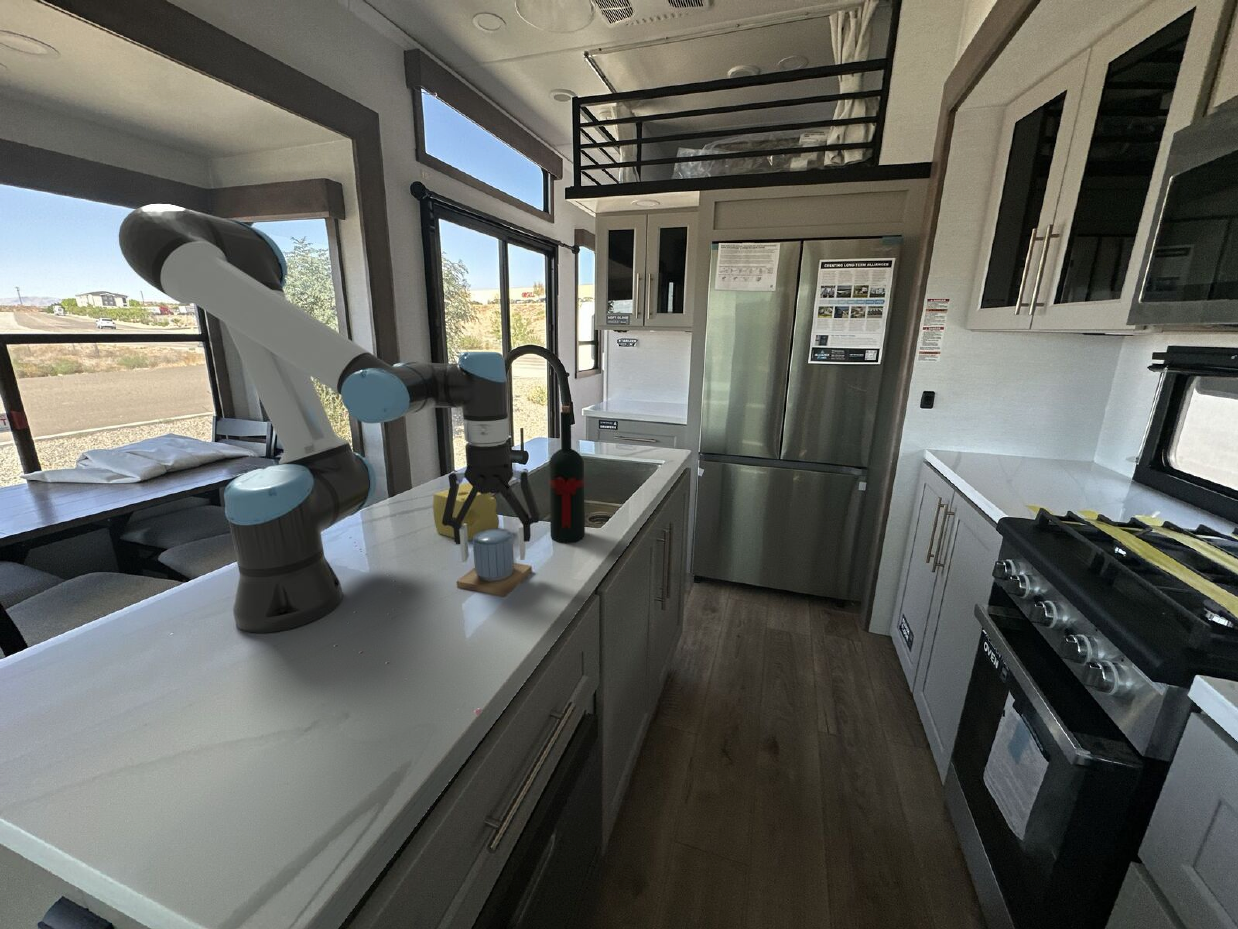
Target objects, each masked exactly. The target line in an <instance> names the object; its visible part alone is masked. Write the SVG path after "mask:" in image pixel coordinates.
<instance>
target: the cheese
mask: <svg viewBox="0 0 1238 929" xmlns="http://www.w3.org/2000/svg"><path fill="white" fill-rule="evenodd" d="M472 488H473V486H472V485H471V484H470V483H469V482H468V481H467V482H463V483H461V484H459V489H458V493H457V498H456V502H455V507H454V511H453V515H452V517H454V518H457V516H458V514H459V512H460V510H461V508H462V506H463V504H464V503H465V501H466V499H467V497H468V495H469V493H470V491H471V489H472ZM448 493H449V488H448V489H445V490H442V491H438V492H435V493H433V501H432V511H433V512H432V514H433V520H434V525H435V528H436V533H438V534H441V535H443V536H447V537H450V538H453V539H454V529H453V527H451V526H448V525H447V526H444V525H443V524H442V520H443V515H444V511H445V506H446V502H447V497H448ZM491 494H492V493H486V494H481V493H479V492H478V493H477V495H476V497H475V499H474V500H473V502H472V504H471V506H470V508H469V510H468V512H467V513H466V515H465V517H464V519H463V521H462V524H467V537H468V542H469V541H472V540H473V536H475V535H476V534H477V533H479V532H482V531H486V530H491V529H499V526H500V519H499V515H498V514H497V512H496V509H497V508H498V506H497V500H496V498H495V497H493V495H491Z"/></svg>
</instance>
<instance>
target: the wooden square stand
mask: <svg viewBox="0 0 1238 929" xmlns="http://www.w3.org/2000/svg"><path fill="white" fill-rule="evenodd" d="M532 570H533V567H532V565H529V564H525V563H524V564H523V563H517V562H514V569H513V571H512V572H511V573H509V574H507V575H505V576H501V577H495V578H486V577H481V576H479V575H477V574H476V572H475V567H473V568H472V569H471V570H469V571H468V572H467V573H466V574H464V575H462V576H461V577H460V578H459V579H458V580H456V587H457V588H460V589H464V590H465V589H466V590H470V591H476V592H480V593H486V594H489V595H490V594H491V595H494V596H495V595H496V596H500V597H506V596H507V595H508V594H509V593H510V592H511V591H513V589H515V587H517V586H518V585H519V584H520V583H521V582H523V580H525V579H526V577H528V576H529V575H530V574H531V573H532V572H533V571H532Z"/></svg>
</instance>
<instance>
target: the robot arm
mask: <svg viewBox="0 0 1238 929" xmlns="http://www.w3.org/2000/svg"><path fill="white" fill-rule="evenodd" d="M118 244H119V248H120V251H121V254H122V256H123V257H124V259H125V261H126V262H127V264H128V265H129V267H130V268H131V269H132V271H134V272H135V274H136V275H138V276H139V277H140V278H141V279H143V280H144V281H145V282H146V283H148V285H150V286H152V287H153V288H155V289H156V290H158V291H160V292H161V293H163V294H164V295H166V296H167V297H169V298H171V299H172V300H174V301H176V302H179V303H181V304H187V305H188V304H193V305H196V306H198V307H199V308H201V309H202V310H204V311H206V312H207V313H209V314H211V315H212V316H214V317H215V318H217V319H218V320H220V321H221V322H223V323H224V324H225V326H226V328H227V330H228V332H229V333H228V334H229V335H230V337H231V339H232V341H233V343H234V345H235V348H236V350H237V352H238V355H239V357H240V359H241V361H242V363H243V365H244V367H245V369H246V371H247V374H248V375H249V377H250V380H251V382H252V384H253V386H254V389H255V391H256V393H257V395H258V398H259V399H260V400H259V401H260V402H261V403H262V406H263V407H264V408H263V409H264V410H265V413H266V415H267V417H268V419H269V421H270V424H271V426H272V427H273V430H274V432H275V434H276V436H277V438H278V441H279V442H280V445H281V447H282V450H283V454H281V457H280V460H279V461H278V464H275V465H271V466H267V467H266V468H257V469H254V470H251V471H249V472H246V473H243V474H241V475H239V476H238V477H236V478H234V479H233V480H232V481H230V482H229V483H228V484H227V485H226V487H225V490H224V492H223V497H224V499H223V500H224V504H225V505H224V506H225V507H224V516H225V518H226V519H227V523H228V524H227V525H228V528H229V534H230V538H231V541H232V546H233V550H234V554H235V558H236V563H237V566H238V572H239V579H238V583H237V588H236V593H235V601H234V603H233V607H232V608H233V609H232V611H233V612H232V613H233V617H234V621H235V625H236V626H237V628H239V629H240V630H242V631H244V632H249V633H258V634H261V633H263V634H264V633H274V632H280V631H285V630H291V629H295V628H298V627H301V626H303V625H307V624H310V623H311V622H314V621H316V620H318V619H320V618H322V617H324V616H326V615H328V613H330V612H331V611H333V610H334V609H335V608H336V607H337V606H339V604H340V603H341V601H342V599H343V590H342V589H343V588H342V584H341V580H339V578H338V576H337V575H336V573H335V571H334V569H333V568H332V567H331V565H330V563H329V562H328V560H327V559H326V556H325V553H324V552H325V551H324V546H323V539H322V538H323V537H322V532H324V531H325V530H327V529H329V528H331V527H332V526H334V525H335V524H338V523H339V522H341V521H343V520H344V519H346V518H348V517H351V516H353V515H355V514H357V513H359V512H360V511H361V510H362V509H363V508H364V507H366V506H367V505H368V504H369V503H370V502H371V501H372V500H373V497H374V495H375V493H376V490H377V483H378V481H377V475H376V471H375V468H374V467H373V465H372V463H371V462H370V461H369V460H368V458H366V456H365V457H363V456H362V455H361V454H360V453H358V452H354V451H353V449H352V448H351V445H350V443H349V441H348V440H346V439H345V438H342V437H340V436H338V435H337V434H336V433H335V431H334V429H333V426H332V424H331V421H330V418H329V417H328V414H327V412H326V409H325V408H324V406H323V405H324V404H323V402H322V401H321V398H320V396H319V394H318V391H317V388H316V387H315V384H314V382H313V379H312V378H314V380H317V381H318V382H319V383H321V384H323V385H324V386H326V387H327V388H329V389H331V390H333V392H335V393H337V394H339V395H340V396H341V402H342V404H343V406H344V407H345V408H346V410H347V412H348V413H349V415H350V416H352V417H353V418H354V419H355V420H357V421H359V422H362V423H364V424H380V423H386V422H392V421H395V420H397V419H399V418H402V417H404V416H407V415H410V414H415V413H417V412H421V411H425V410H427V409H430V408H453V409H458V408H462V409H461V410H462V418H463V419H462V421H463V434H464V440H465V442H467V443H466V444H465V447H464V448H465V463H466V467H465V468H466V469H465V470H464V471H458V470H456V469H454V470H452V471H451V472H450V473H449V475H448V476H447V477H448V483H449V488H448V489H449V493H448V497H447V502H446V506H445V511H444V515H443V520H442V524H443V525H444V526H447V525H448V526H451V527H453V529H454V538H453V539H454V543H455V545H460V553H461V554H460V555H461V563H467V561H468V559H469V555H470V554H469V553H470V552H469V551H470V550H469V541H468V537H467V524H462V521H463V519H464V517H465V515H466V513H467V512H468V510H469V508H470V506H471V504H472V502H473V500H474V499H475V497H476V495H477V493H478V492H479V493H481V494H486V493H490V494H499V493H500V494H501V496H502V497H503V498H504V499H505V500H506V502H507V504H508V505H509V506H510V508H511V510H512V511H513V512H514V514H515V515H516V517H517V519H518V520H519V526H518V536H519V538H518V539H519V540H518V541H519V559H520V561H525V560H526V558H525V557H526V542H529V543H530V540H531V533H532V532H531V525H533V524H538V523H539V521H540V517H541V516H540V515H541V514H540V512H539V509H538V506H537V503H536V500H535V497H534V494H533V491H532V488H531V486H530V483H529V470H528V469H527V468H523V469H522V470H517V469H516V470H515V469H514V468H513V467H512V465H511V452H510V443H509V442H508V439H510V435H509V434H510V433H509V432H510V431H509V429H510V428H509V417H508V414H509V413H508V389H507V387H508V386H507V382H508V378H507V374H506V373H507V372H506V365H505V363H506V362H505V358H504V356H503V355H502V354H501V353H500V352H497V351H463V352H461V353H459V355H458V361H457V363H456V362H455V363H441V362H440V363H438V362H437V363H436V362H418V361H410V362H409V361H407V362H398V363H395V364H393V365H391V364H388V363H387V362H385V361H384V360H382V359H380V358H379V357H377V356H375V355H374V354H372V353H371V352H369V351H368V350H367V349H365V348H363V347H362V346H360V345H358V344H357V343H356V342H354V341H353V340H351V339H349V338H348V337H346V336H344V335H343V334H341V333H340V332H338V331H337V330H336V329H333V328H332V327H330V326H328V325H327V324H326V323H325V322H322V321H321V320H319V319H317V318H316V317H315V316H313V315H311V314H310V313H308V312H307V311H305V310H304V309H303V308H301V307H299V306H297V305H296V304H294V303H292V302H291V301H290V300H288V299H286V298H287V297H286V293H285V291H284V287H285V284H286V283H287V279H286V276H287V275H288V265H287V261H286V258H285V256H284V254H283V251H282V250H281V249H280V247H279V246H278V244H277V243H276V242H275V240H273V238H272V237H270V236H269V234H267V233H266V232H263V231H262V230H260V229H258V228H255V227H253V226H251V225H248V224H246V223H244V222H242V221H239V220H236V219H235V220H234V219H232V218H231V219H229V218H222V217H219V216H214V215H211V214H206V213H203V212H200V211H196V210H192V209H188V208H186V207H185V208H184V207H181V206H177V205H172V204H168V203H167V204H162V203H156V204H154V203H153V204H148V205H144V206H140V207H138V208H136V209H134V210H132V211H131V212H130V213H128V214H127V216H125V218H124V219H123V220H122V223H121V224H120V227H119V232H118ZM311 377H312V378H311ZM512 478H514V479H515V480H516V482H517V483H518V484H520V489H521V492H522V494H523V497H524V500H525V503H526V506H527V508H528V512H529V514H530V515H529V514H528V512H527V511H526V510H525V508H524V505H522V503H521V502H520V500H519V499H518V497H517V496H516V494H515V493H514V492H513V490H512V487H511V486H510V484H509V482H510V481H511V480H512ZM464 479H466V481H467V482H468V483H470V484H471V485H472V486H473V488H472V489H471V491H470V493H469V495H468V497H467V499H466V501H465V503H464V504H463V506H462V508H461V510H460V512H459V514H458V516H457V518H454V517H452V515H453V511H454V507H455V502H456V498H457V493H458V489H459V485H461V484H463V483H462V482H463V481H464Z"/></svg>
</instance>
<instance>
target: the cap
mask: <svg viewBox="0 0 1238 929" xmlns="http://www.w3.org/2000/svg"><path fill="white" fill-rule="evenodd" d="M472 548H473V550H472V551H473V564H474V568H475V572H476V574H477V575H479V576H481V577H486V578H495V577H501V576H505V575H507V574H509V573H511V572H512V571H513V569H514V563H515V557H514V556H515V555H514V554H515V553H514V535H513V533H512V532H511V531H510V530H507V529H501V528H498V529H491V530H486V531H482V532H479V533H477V534H476V535H475V536H473V539H472Z"/></svg>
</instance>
